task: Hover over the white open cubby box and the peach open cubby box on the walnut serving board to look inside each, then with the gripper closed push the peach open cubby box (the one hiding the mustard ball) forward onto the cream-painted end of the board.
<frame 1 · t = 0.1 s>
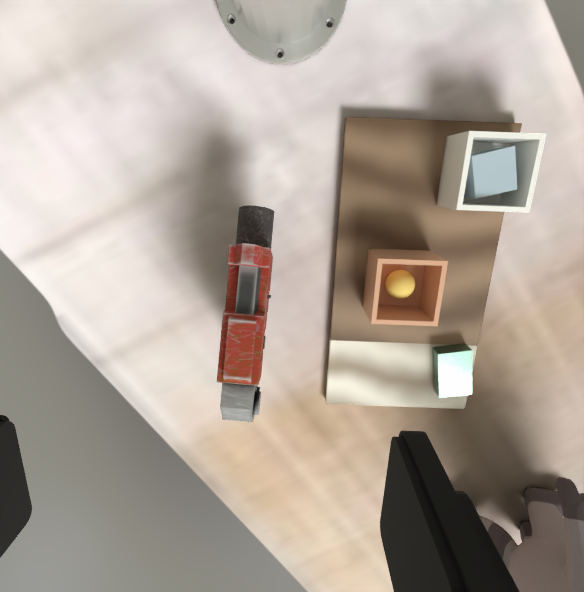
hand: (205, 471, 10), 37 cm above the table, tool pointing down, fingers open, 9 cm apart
tin: (449, 366, 48), point 1 cm above the table, touching board
toy: (480, 510, 57), on the table
peach open cubby box: (395, 279, 45), point 1 cm above the table, touching ball, board
block: (476, 173, 40), point 2 cm above the table, touching white open cubby box
white open cubby box: (474, 173, 41), point 1 cm above the table, touching block, board
ball: (396, 280, 44), point 2 cm above the table, touching peach open cubby box
board: (409, 277, 46), on the table
toy gun: (258, 287, 47), on the table
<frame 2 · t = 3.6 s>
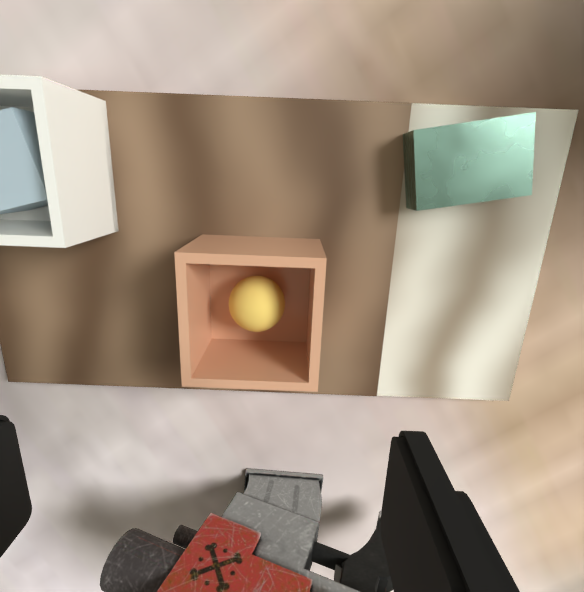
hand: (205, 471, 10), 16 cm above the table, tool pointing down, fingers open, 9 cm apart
tin: (458, 164, 22), point 1 cm above the table, touching board
peach open cubby box: (260, 292, 24), point 1 cm above the table, touching ball, board
block: (45, 166, 21), point 2 cm above the table, touching white open cubby box
white open cubby box: (50, 166, 22), point 1 cm above the table, touching block, board
ball: (259, 295, 23), point 2 cm above the table, touching peach open cubby box
board: (262, 257, 24), on the table
toy gun: (284, 483, 30), on the table
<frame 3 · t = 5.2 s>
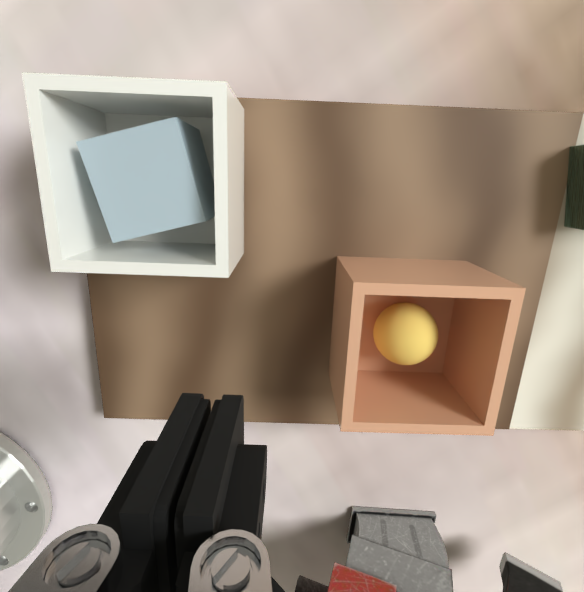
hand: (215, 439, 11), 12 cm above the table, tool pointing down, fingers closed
peach open cubby box: (394, 319, 22), point 1 cm above the table, touching ball, board
block: (172, 182, 19), point 2 cm above the table, touching white open cubby box
white open cubby box: (175, 182, 19), point 1 cm above the table, touching block, board
ball: (396, 322, 21), point 2 cm above the table, touching peach open cubby box
board: (392, 279, 22), on the table
toy gun: (391, 521, 28), on the table
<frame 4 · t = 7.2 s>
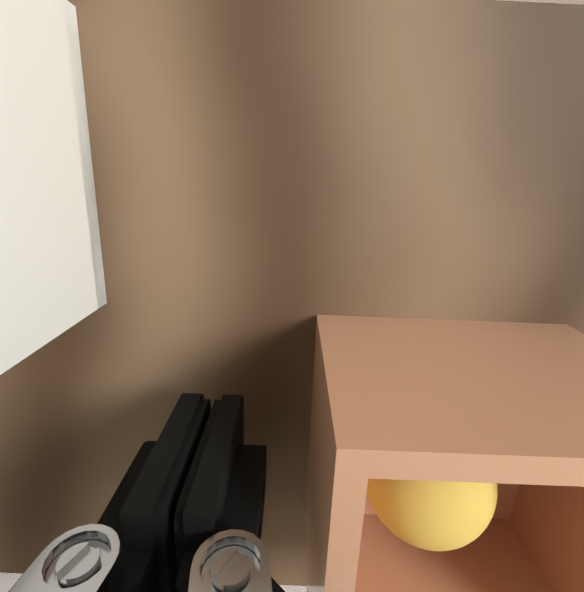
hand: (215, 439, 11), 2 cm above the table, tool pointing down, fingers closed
peach open cubby box: (424, 426, 12), point 1 cm above the table, touching ball, gripper
ball: (431, 439, 11), point 2 cm above the table, tilted 23°, touching peach open cubby box
board: (394, 347, 12), on the table
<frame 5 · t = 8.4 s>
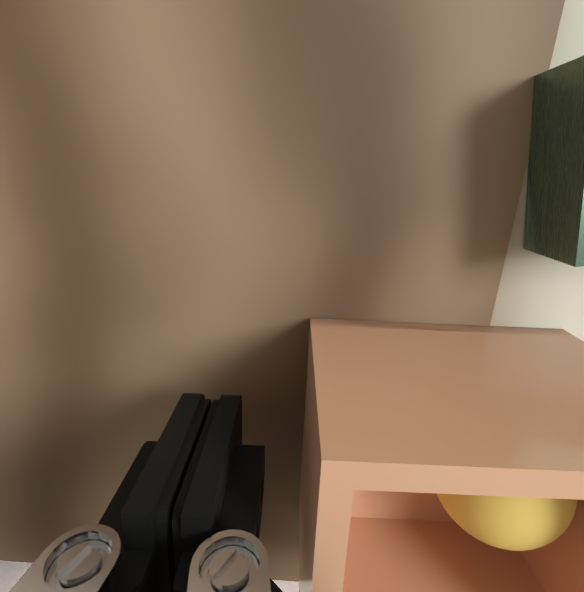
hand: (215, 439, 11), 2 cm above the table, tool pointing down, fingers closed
peach open cubby box: (418, 429, 12), point 1 cm above the table, touching ball, board, gripper
ball: (444, 445, 11), point 2 cm above the table, tilted 34°, touching peach open cubby box
board: (212, 334, 12), on the table
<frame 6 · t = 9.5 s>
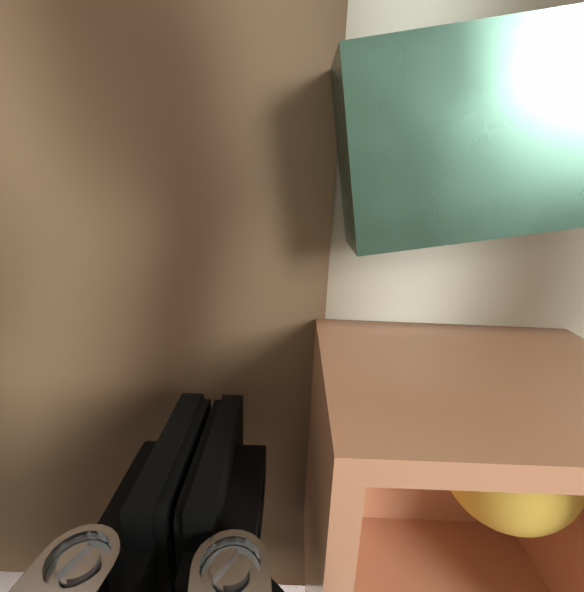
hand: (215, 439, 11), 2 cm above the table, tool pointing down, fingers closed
tin: (461, 143, 9), point 1 cm above the table, touching board
peach open cubby box: (423, 429, 12), point 1 cm above the table, touching ball, board, gripper
ball: (454, 447, 11), point 2 cm above the table, tilted 38°, touching peach open cubby box
board: (69, 332, 12), on the table
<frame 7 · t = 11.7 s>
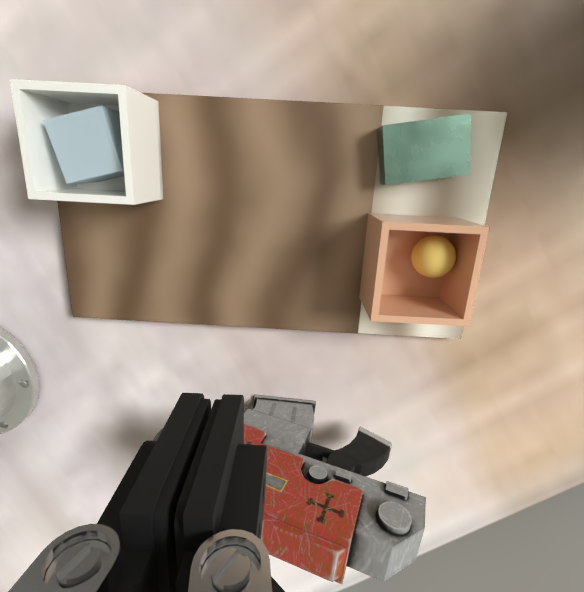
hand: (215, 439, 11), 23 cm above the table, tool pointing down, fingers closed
tin: (418, 151, 29), point 1 cm above the table, touching board
peach open cubby box: (406, 258, 31), point 1 cm above the table, touching ball, board
block: (112, 149, 29), point 2 cm above the table, touching white open cubby box
white open cubby box: (115, 149, 29), point 1 cm above the table, touching block, board
ball: (417, 260, 31), point 2 cm above the table, tilted 38°, touching peach open cubby box
board: (270, 222, 32), on the table
toy gun: (285, 408, 38), on the table
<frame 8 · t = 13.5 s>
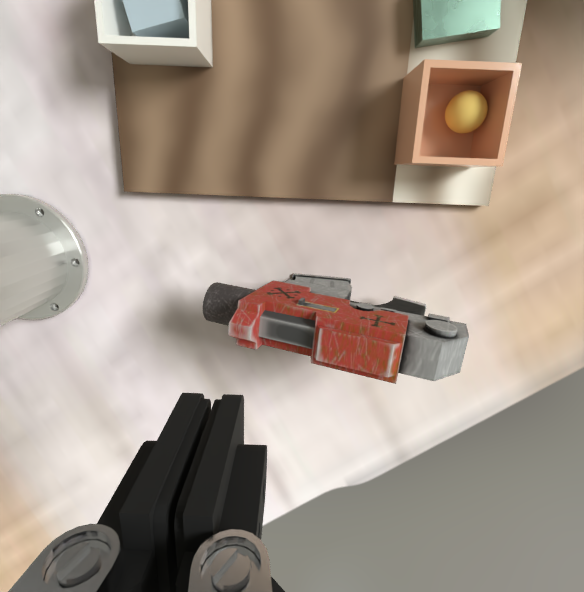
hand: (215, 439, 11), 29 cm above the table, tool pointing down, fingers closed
tin: (450, 14, 31), point 1 cm above the table, touching board
peach open cubby box: (438, 124, 34), point 1 cm above the table, touching ball, board
block: (167, 15, 31), point 2 cm above the table, touching white open cubby box
white open cubby box: (169, 17, 32), point 1 cm above the table, touching block, board
ball: (449, 122, 33), point 2 cm above the table, tilted 38°, touching peach open cubby box
board: (311, 93, 34), on the table
toy gun: (321, 287, 40), on the table
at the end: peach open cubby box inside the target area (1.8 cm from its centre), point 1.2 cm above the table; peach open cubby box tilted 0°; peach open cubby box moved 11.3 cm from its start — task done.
